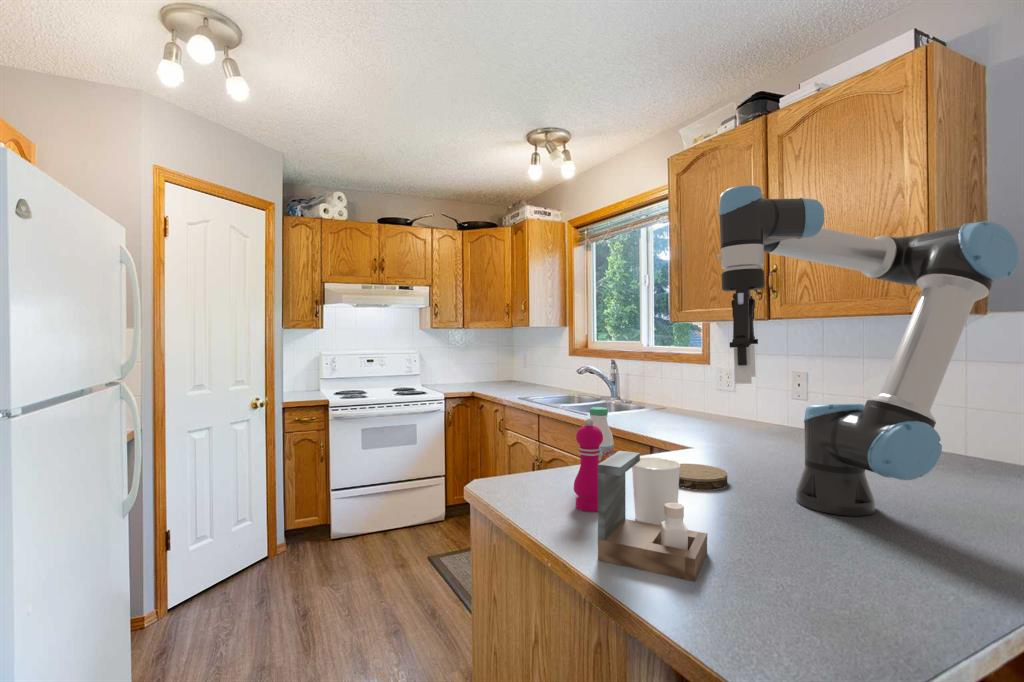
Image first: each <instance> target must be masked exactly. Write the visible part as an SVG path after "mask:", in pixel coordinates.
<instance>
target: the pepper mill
mask: <svg viewBox="0 0 1024 682" xmlns="http://www.w3.org/2000/svg"><path fill="white" fill-rule="evenodd" d="M593 423H594V422H593V420H592V419H591V418H586V420H585V425H582V426H581V427H579V429H578V430H577V431H576V435H575V440H576V442H577V444H578V445H579V446H578V448H577V449H578V451H577V452H578V454H579V455H580V456H579V457H580V465H579V470H578V472H577V474H576V476H575V479H574V482H573V491H574V493H575V494H576V495H577V497H576V498H575V507H576V509H578V510H580V511H583V512H591V513H592V512H593V513H594V512H598V464H599V461H598V459H599V455H600V454H601V452H600V450H601V448H600V447H599V446H600V444H601V443H602V441H603V434H602V431H601V430H600V429H599V428H598V427H596V426H593Z"/></svg>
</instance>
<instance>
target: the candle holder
mask: <svg viewBox="0 0 1024 682" xmlns="http://www.w3.org/2000/svg"><path fill="white" fill-rule="evenodd" d="M680 464H681V463H679V462H678V461H676V460H673V459H670V458H664V457H663V458H662V457H640V461H639V462H638V463H637V464H635V465H634V466H633V467H631V469H632V485H633V489H632V490H633V504H634V515H635V516H634V519H635V521H639V522H645V523H651V524H656V525H661V522H663V521H665V516H664V505H665V504H666V503H678V504H679V490H680V487H679V475H680Z"/></svg>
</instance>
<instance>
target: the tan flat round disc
mask: <svg viewBox="0 0 1024 682" xmlns="http://www.w3.org/2000/svg"><path fill="white" fill-rule="evenodd" d="M679 464H680V475H679V486H680V487H679V488H681V487H684V488H683V489H686V488H690V489H689V490H694V489H697V490H696V491H715V490H714V489H717V490H720V489H721V488H722V489H724V488H726V487H727V486H728V472H727V471H726V470H724V469H722V468H720V467H716V466H713V465H707V464H700V463H699V464H697V463H679Z"/></svg>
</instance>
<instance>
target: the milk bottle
mask: <svg viewBox="0 0 1024 682" xmlns="http://www.w3.org/2000/svg"><path fill="white" fill-rule="evenodd" d="M608 414H609V410H608V408H607V407H603V406H594V407H590V408H589V417H590V419H592V420H593V422H594V423H593V426H596V427H598V428H599V429H600V430H601V431H602V434H603V441H602V443H601V444H600V446H599V447H600V448H601V450H600V452H601V454H600V455H599V459H598V461H599V463H601V462H602V461H604V460H605V459H607V458H609V457H610V456H612V455H613V454H615V443H614V438H613V437H614V436H613V433H612V431H611V428H610V427H609V424H608V420H607V419H608Z"/></svg>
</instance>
